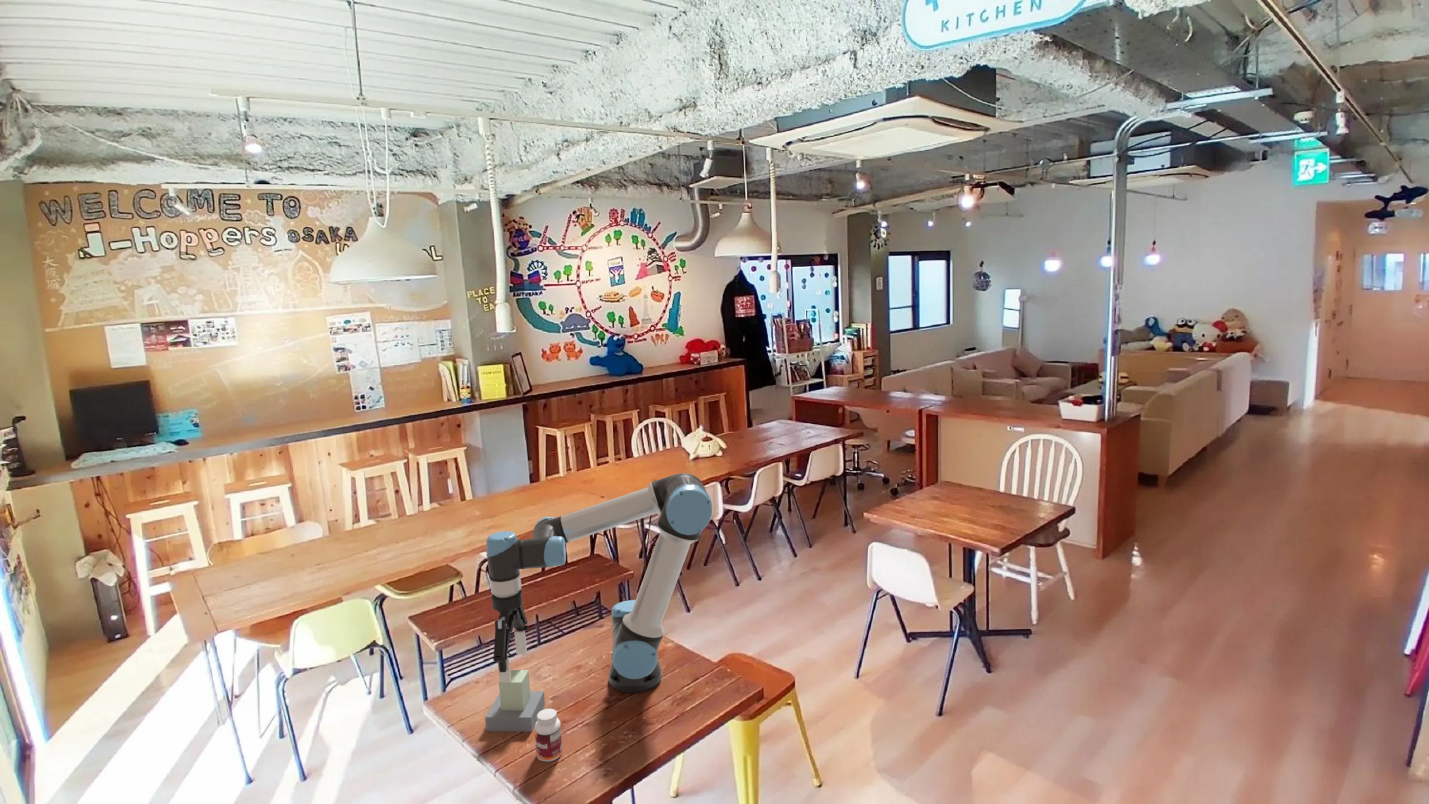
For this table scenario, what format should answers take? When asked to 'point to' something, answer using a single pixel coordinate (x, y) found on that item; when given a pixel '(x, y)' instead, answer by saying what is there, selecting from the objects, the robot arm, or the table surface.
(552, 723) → the pill bottle
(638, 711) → the table surface
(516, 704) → the sage block
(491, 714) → the slate block
